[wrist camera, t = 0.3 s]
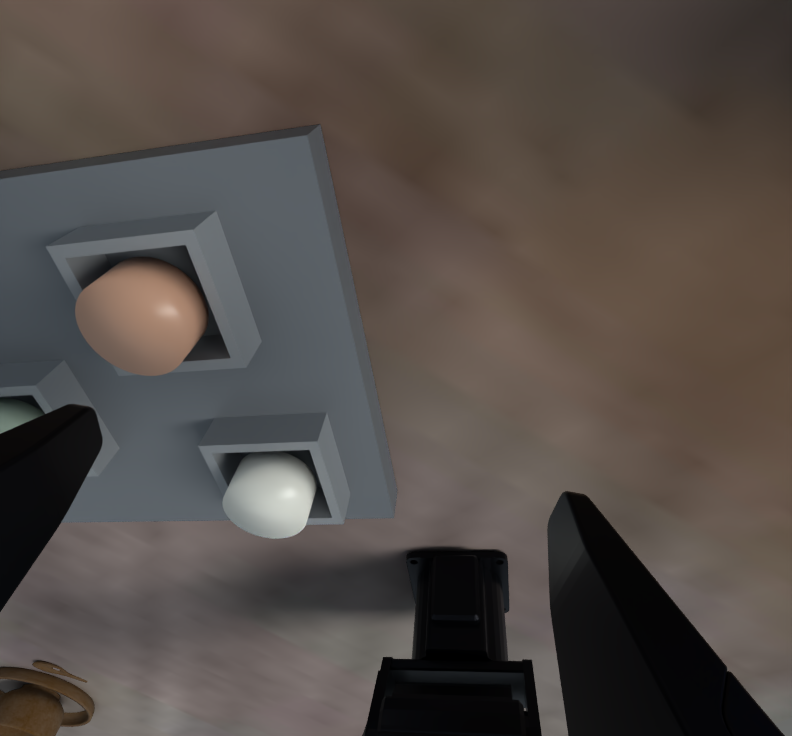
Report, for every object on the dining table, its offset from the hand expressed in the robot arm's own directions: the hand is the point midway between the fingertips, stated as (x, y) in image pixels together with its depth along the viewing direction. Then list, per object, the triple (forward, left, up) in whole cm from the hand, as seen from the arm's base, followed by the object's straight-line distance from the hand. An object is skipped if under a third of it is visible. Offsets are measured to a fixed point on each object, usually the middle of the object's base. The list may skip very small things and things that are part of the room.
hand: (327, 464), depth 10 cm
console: (-6, +13, -13) cm, 20 cm away
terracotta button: (-1, +9, -10) cm, 14 cm away
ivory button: (-11, +7, -10) cm, 16 cm away
